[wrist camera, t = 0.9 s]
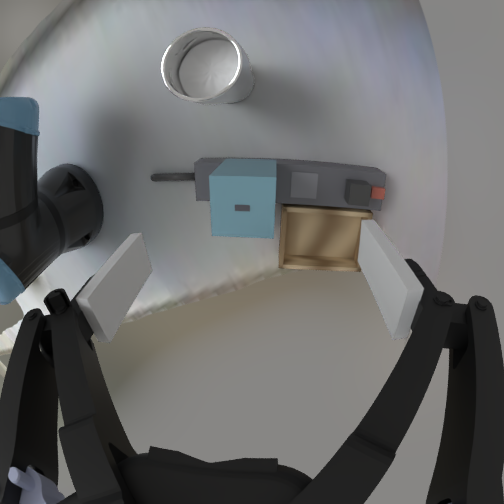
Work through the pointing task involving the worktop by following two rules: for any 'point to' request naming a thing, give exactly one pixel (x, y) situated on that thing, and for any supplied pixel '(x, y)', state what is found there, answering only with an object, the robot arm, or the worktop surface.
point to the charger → (243, 198)
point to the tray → (320, 237)
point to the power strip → (304, 183)
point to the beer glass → (207, 67)
